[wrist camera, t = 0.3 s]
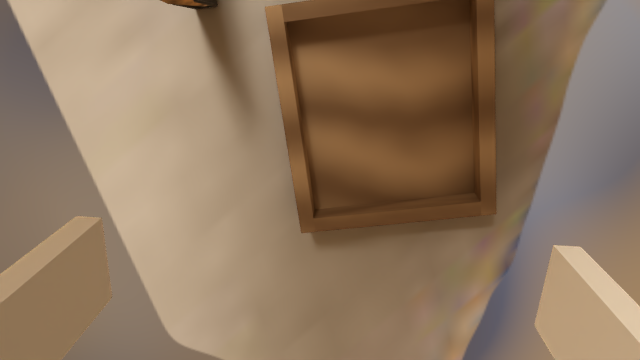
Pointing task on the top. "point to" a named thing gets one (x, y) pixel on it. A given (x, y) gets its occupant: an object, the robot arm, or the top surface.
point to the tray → (387, 109)
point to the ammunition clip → (193, 3)
